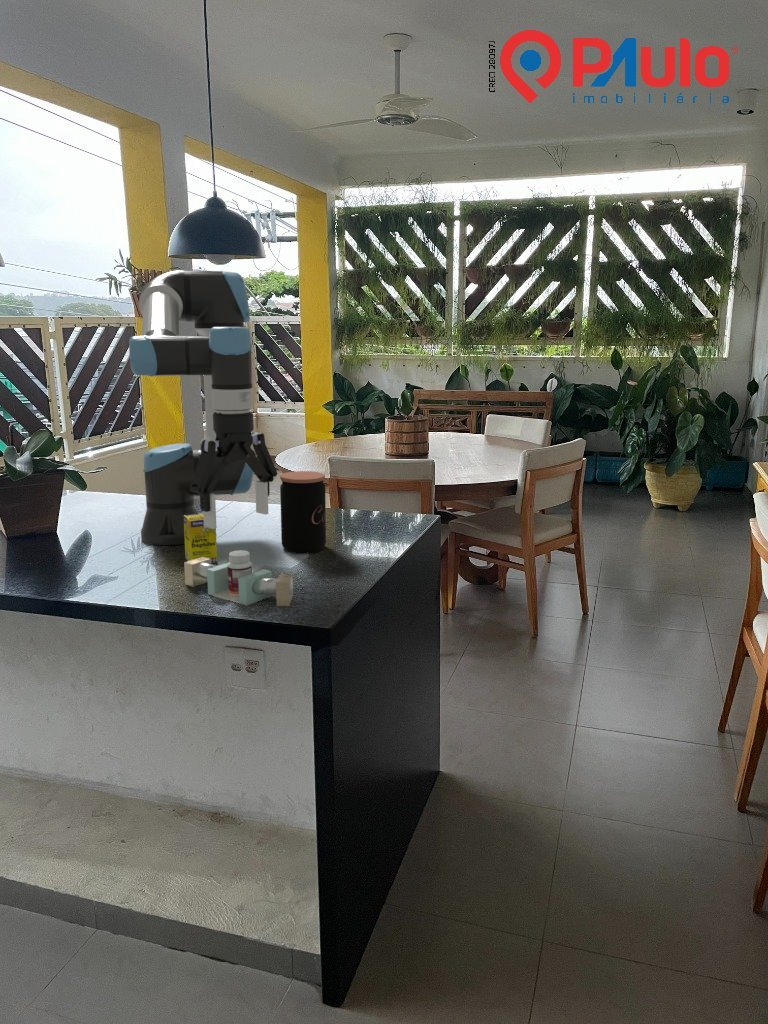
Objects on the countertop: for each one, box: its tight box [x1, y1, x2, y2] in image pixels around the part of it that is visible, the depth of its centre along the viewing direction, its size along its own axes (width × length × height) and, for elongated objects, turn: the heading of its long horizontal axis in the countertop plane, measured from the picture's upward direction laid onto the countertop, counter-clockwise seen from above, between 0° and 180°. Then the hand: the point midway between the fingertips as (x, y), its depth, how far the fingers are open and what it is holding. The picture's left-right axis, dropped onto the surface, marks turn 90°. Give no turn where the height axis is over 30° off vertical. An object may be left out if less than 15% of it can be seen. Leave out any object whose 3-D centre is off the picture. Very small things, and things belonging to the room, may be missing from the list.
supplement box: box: [184, 513, 218, 566], centre depth 171 cm, size 6×6×11 cm
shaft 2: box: [252, 573, 294, 607], centre depth 148 cm, size 8×5×5 cm, turn 88°
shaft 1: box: [183, 557, 217, 588], centre depth 157 cm, size 9×5×5 cm, turn 53°
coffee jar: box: [279, 470, 327, 555], centre depth 182 cm, size 11×11×18 cm
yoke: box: [207, 562, 273, 607], centre depth 151 cm, size 11×7×5 cm, turn 53°
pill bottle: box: [227, 549, 253, 597], centre depth 151 cm, size 5×5×8 cm
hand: (237, 520), depth 148 cm, fingers open, 13 cm apart
